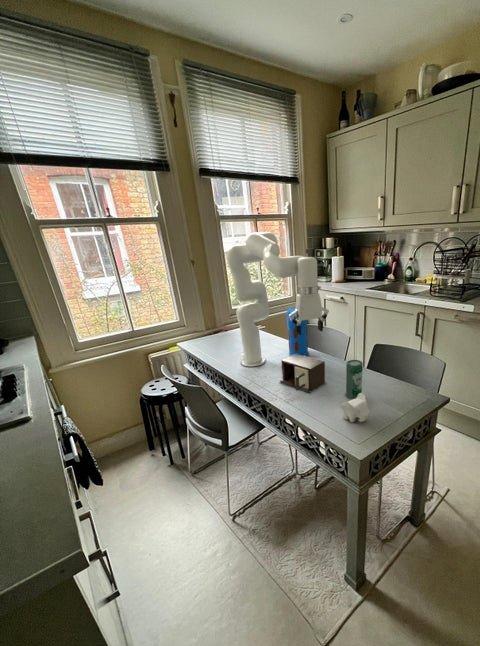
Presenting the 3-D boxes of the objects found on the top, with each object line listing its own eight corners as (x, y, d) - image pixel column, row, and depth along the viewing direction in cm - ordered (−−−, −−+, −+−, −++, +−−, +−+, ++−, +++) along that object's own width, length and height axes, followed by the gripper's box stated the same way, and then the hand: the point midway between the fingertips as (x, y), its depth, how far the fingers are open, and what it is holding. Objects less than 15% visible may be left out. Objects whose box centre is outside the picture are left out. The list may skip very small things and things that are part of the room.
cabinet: (280, 383, 147) (278, 361, 143) (296, 374, 155) (295, 353, 151) (309, 393, 137) (308, 370, 132) (325, 383, 145) (324, 361, 141)
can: (357, 400, 130) (358, 366, 124) (344, 396, 133) (344, 364, 127) (363, 393, 135) (364, 361, 128) (349, 390, 138) (350, 358, 131)
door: (287, 389, 139) (286, 371, 135) (296, 384, 143) (295, 366, 139) (300, 394, 134) (299, 375, 130) (309, 388, 138) (308, 370, 134)
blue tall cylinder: (306, 357, 175) (304, 312, 165) (287, 356, 177) (284, 312, 167) (309, 350, 185) (308, 307, 174) (291, 349, 187) (289, 307, 177)
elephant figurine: (360, 430, 110) (361, 409, 107) (335, 417, 119) (335, 397, 115) (376, 419, 116) (378, 398, 113) (351, 408, 124) (351, 388, 121)
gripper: (323, 286, 130) (324, 327, 137) (284, 291, 124) (287, 333, 131) (332, 289, 123) (332, 331, 130) (290, 294, 118) (293, 338, 124)
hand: (309, 332), depth 131 cm, fingers open, 9 cm apart
